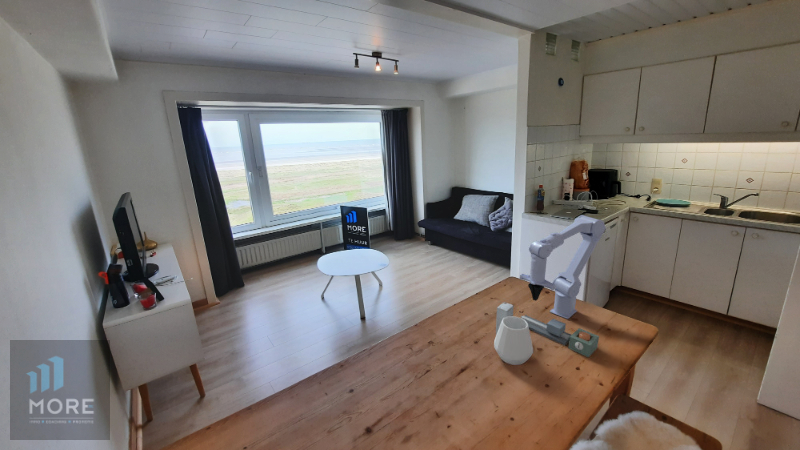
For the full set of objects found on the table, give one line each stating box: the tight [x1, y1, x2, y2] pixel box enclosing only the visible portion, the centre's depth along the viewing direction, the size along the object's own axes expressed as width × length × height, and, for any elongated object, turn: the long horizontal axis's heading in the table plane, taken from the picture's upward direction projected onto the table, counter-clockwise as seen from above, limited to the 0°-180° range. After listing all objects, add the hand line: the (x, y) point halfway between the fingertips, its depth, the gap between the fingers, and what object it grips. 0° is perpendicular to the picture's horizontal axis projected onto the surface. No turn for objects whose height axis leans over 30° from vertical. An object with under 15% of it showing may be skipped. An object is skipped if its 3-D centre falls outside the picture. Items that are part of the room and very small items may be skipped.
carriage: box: [546, 318, 567, 337], centre depth 127 cm, size 5×5×4 cm
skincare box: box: [495, 301, 514, 335], centre depth 130 cm, size 6×4×12 cm
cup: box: [493, 315, 534, 366], centre depth 116 cm, size 13×13×14 cm
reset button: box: [579, 332, 590, 342], centre depth 120 cm, size 4×4×4 cm
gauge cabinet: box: [568, 327, 600, 358], centre depth 120 cm, size 8×7×5 cm
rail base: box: [520, 315, 572, 347], centre depth 131 cm, size 7×20×2 cm, turn 40°
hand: (535, 299), depth 137 cm, fingers closed
